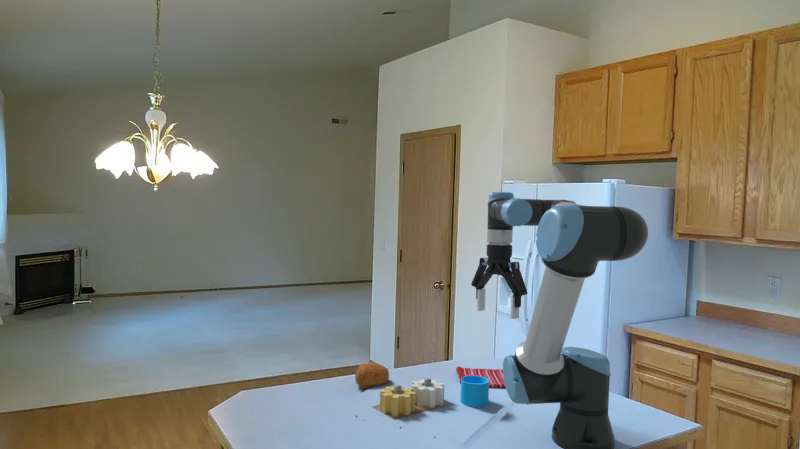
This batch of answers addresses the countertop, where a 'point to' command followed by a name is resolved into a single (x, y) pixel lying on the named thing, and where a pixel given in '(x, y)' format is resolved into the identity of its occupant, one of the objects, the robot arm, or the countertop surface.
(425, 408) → the walnut board
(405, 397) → the ochre gear
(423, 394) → the cream gear
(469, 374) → the dish towel
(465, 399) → the mug
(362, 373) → the potato
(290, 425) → the countertop surface
